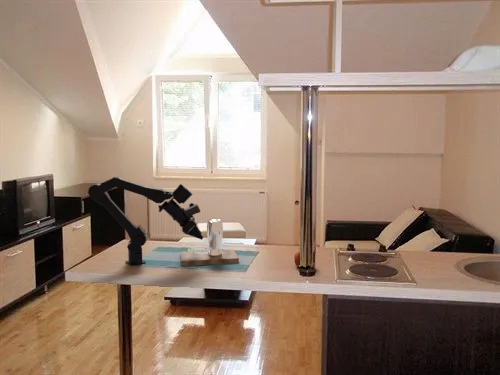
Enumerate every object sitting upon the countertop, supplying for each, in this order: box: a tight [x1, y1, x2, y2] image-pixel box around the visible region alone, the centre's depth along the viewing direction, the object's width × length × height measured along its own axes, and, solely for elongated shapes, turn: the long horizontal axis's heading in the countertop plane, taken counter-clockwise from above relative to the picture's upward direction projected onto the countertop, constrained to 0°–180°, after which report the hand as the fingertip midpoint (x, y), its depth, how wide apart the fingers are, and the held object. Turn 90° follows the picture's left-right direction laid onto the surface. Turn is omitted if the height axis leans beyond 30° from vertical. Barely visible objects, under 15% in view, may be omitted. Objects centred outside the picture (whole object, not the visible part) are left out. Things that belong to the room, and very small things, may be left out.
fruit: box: [293, 250, 301, 268], centre depth 195 cm, size 8×8×8 cm
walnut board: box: [179, 249, 240, 266], centre depth 207 cm, size 24×15×2 cm, turn 100°
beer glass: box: [206, 218, 224, 256], centre depth 206 cm, size 7×7×15 cm
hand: (201, 236), depth 205 cm, fingers open, 9 cm apart
